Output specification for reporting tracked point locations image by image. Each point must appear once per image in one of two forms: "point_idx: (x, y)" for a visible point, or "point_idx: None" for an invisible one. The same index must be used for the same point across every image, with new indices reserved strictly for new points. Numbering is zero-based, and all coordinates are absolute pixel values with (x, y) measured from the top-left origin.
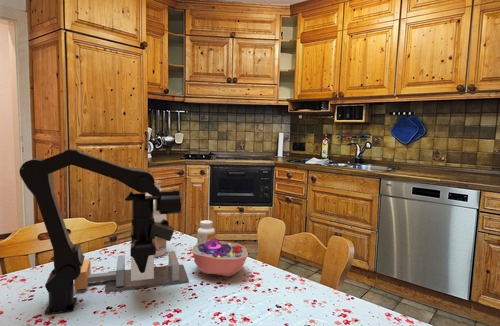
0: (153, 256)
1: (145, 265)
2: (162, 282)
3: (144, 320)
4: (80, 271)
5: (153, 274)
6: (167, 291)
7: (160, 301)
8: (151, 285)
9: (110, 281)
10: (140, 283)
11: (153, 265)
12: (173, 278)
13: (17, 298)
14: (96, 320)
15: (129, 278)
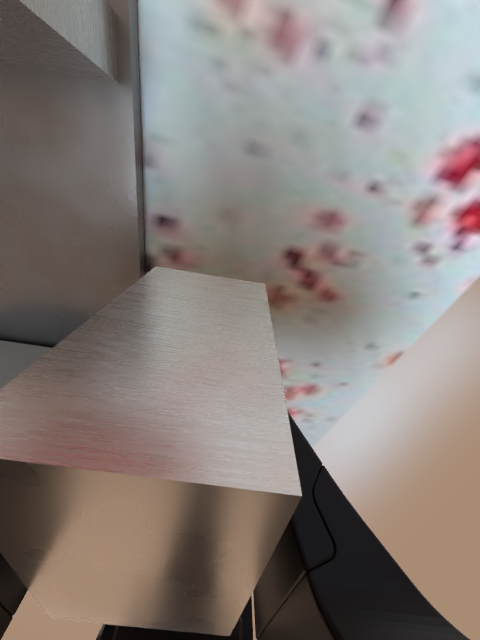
0: (287, 447)
1: (299, 434)
2: (125, 167)
3: (425, 323)
4: (238, 631)
5: (267, 298)
6: (225, 159)
7: (318, 229)
8: (141, 238)
9: None
10: (116, 290)
11: (273, 342)
12: (108, 62)
13: None
14: (322, 430)
15: (50, 325)
